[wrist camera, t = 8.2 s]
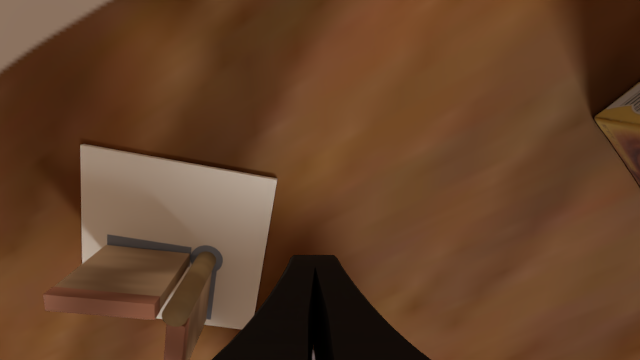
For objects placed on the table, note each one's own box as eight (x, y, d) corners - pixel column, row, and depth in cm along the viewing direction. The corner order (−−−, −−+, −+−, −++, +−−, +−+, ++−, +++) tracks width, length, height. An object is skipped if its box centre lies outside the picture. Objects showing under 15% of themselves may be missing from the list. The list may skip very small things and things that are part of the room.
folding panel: (189, 252, 20) (154, 304, 15) (189, 265, 20) (154, 320, 15) (105, 244, 19) (43, 294, 15) (106, 257, 20) (45, 310, 15)
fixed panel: (210, 317, 22) (180, 390, 17) (192, 314, 22) (156, 387, 16) (218, 250, 20) (188, 307, 15) (199, 247, 20) (162, 304, 15)
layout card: (252, 327, 22) (251, 331, 22) (85, 305, 21) (82, 309, 21) (277, 178, 19) (276, 180, 19) (83, 143, 18) (79, 145, 18)
